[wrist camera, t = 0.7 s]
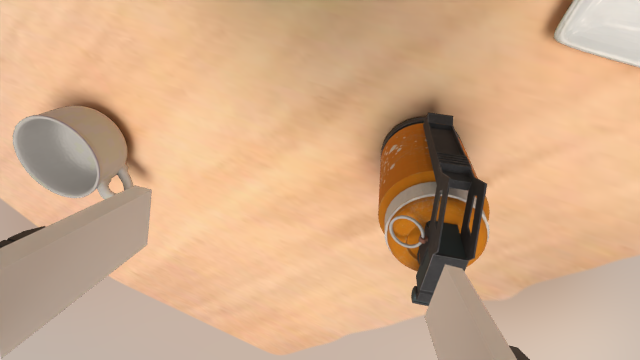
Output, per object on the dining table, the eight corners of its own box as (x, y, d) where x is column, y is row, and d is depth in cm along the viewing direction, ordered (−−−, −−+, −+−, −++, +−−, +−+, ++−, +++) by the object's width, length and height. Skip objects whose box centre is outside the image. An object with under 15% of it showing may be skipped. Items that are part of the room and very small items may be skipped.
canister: (375, 177, 42) (365, 312, 25) (393, 91, 36) (396, 190, 19) (448, 189, 41) (489, 338, 24) (478, 102, 35) (562, 218, 18)
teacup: (52, 121, 46) (-5, 145, 39) (93, 80, 42) (36, 99, 35) (127, 195, 51) (87, 228, 44) (171, 165, 46) (134, 197, 40)
